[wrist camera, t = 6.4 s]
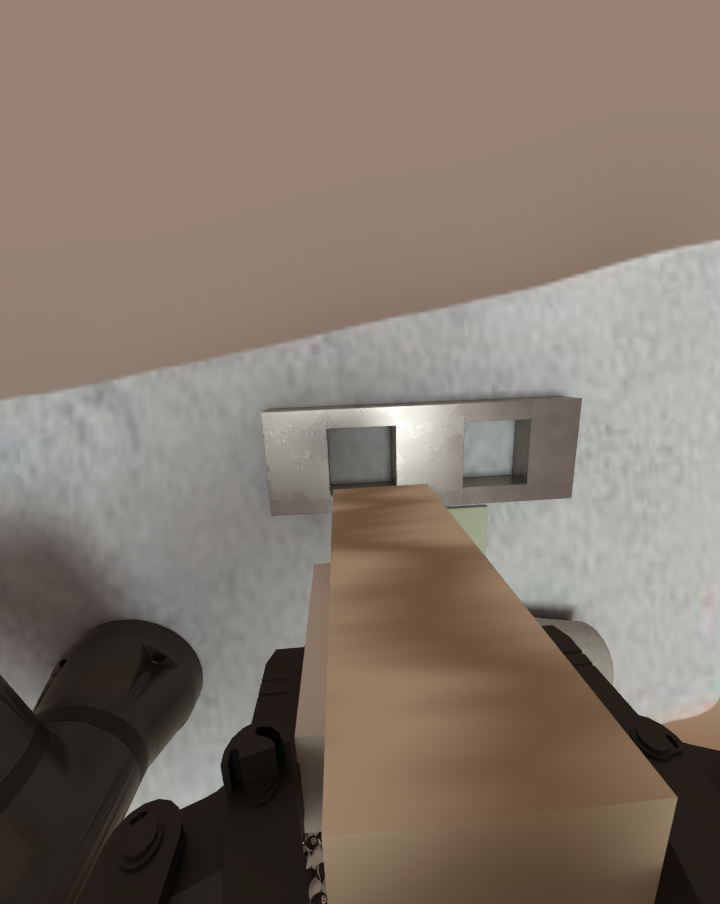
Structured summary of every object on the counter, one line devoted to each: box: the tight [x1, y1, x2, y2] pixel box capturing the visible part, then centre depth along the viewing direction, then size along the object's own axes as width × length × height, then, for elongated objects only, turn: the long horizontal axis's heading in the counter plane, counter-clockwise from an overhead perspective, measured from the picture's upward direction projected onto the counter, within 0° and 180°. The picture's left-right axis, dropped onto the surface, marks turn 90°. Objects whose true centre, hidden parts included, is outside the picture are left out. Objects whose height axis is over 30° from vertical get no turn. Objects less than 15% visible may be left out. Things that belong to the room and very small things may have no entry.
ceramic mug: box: [534, 617, 613, 685], centre depth 39 cm, size 11×8×8 cm
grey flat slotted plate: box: [261, 396, 582, 516], centre depth 35 cm, size 30×10×3 cm, turn 92°
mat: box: [446, 505, 488, 556], centre depth 39 cm, size 11×11×1 cm
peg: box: [322, 484, 678, 904], centre depth 12 cm, size 5×5×14 cm
